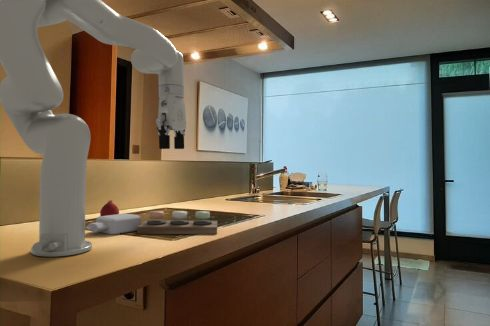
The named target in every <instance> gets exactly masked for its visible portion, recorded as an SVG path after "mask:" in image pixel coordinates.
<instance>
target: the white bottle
mask: <svg viewBox="0 0 490 326" xmlns="http://www.w3.org/2000/svg"><path fill="white" fill-rule="evenodd" d="M95 221H96V222H90V223H89V224H87V226H85V229H87V230H89V232H93V233H98V232H99V233H103V234H106V235H113V236H114V235H120V233H121V234H127V233H133V232H137V227H138V226H139V225H140V224H142V218H141V216H140V215H139V214H138V215H137V214H133V213H119V214H116V215H107V216H98V217H97V218H96V220H95Z"/></svg>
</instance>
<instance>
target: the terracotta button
mask: <svg viewBox="0 0 490 326" xmlns="http://www.w3.org/2000/svg"><path fill="white" fill-rule="evenodd" d="M164 218H165V211H163V210H151V211H149V212H148V219H150V220H162V219H164Z"/></svg>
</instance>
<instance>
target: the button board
mask: <svg viewBox="0 0 490 326" xmlns="http://www.w3.org/2000/svg"><path fill="white" fill-rule="evenodd" d="M136 234H137V235H217V234H218V220H209V219H198V220H186V219H174V220H172V219H171V220H170V219H169V220H165V219H150V220H148V219H146V220H144V221H143V222H141V224H140V225H139V226H138V227H137V231H136Z"/></svg>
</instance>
